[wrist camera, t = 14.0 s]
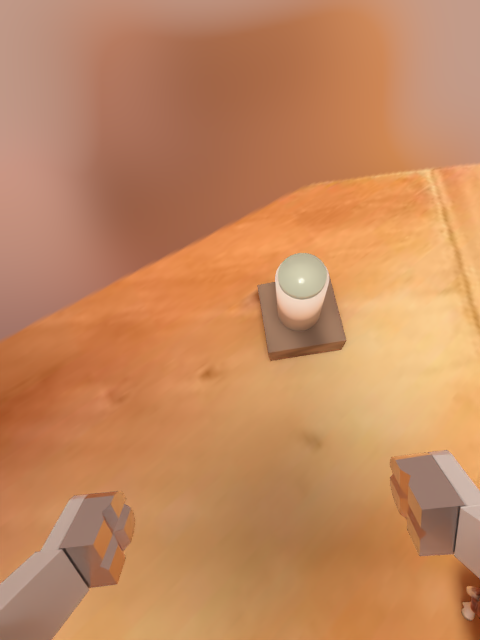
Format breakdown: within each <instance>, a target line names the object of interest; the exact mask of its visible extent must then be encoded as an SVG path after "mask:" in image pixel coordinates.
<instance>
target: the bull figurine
mask: <svg viewBox="0 0 480 640" xmlns="http://www.w3.org/2000/svg"><path fill="white" fill-rule="evenodd" d="M466 591H467V593H468V594H469V595H470V596H471V602H462V604H463V606H464V608H462V615H463V616H464V618H465V619H467V620H469V621H472V620H473V619H474V617H475V614H476V615H478V616H479V618H480V600H479V598H480V587H479V588H476V587H473V586H467V588H466Z"/></svg>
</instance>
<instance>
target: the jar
mask: <svg viewBox="0 0 480 640" xmlns="http://www.w3.org/2000/svg"><path fill="white" fill-rule="evenodd" d="M275 284H276V296H277V309H278V317H279V319H280V321H281V323H282V324H283V325H284V326H285V327H286V328H288V329H290V330H293V331H305V330H308V329H310V328H311V327H313V326H314V325H315V324H316V322H317V321H318V319H319V316H320V312H321V309H322V305H323V302H324V298H325V295H326V291H327V288H328V284H329V273H328V270H327V268H326V266H325V265H324V264H323V262H322V261H321V260H320V259H319V258H317V257H316V256H314V255H311V254H307V253H298V254H294V255H292V256H290V257H288V258H287V259H285V260H284V261H283V262H282V263H281V265H280V266H279V267H278V269H277V271H276V275H275Z"/></svg>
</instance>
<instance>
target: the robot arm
mask: <svg viewBox="0 0 480 640" xmlns="http://www.w3.org/2000/svg"><path fill="white" fill-rule="evenodd" d="M390 467H391V470H392V472H393V475H392V476H391V477H390V486H391V490H392V495H393V498H394V501H395V504H396V506H397V508H398V511H399V513H400V514H401V515H402V516H404V517H405V518H406V519H407V530H408V533H409V535H410V537H411V539H412V541H413V543H414V545H415V547H416V550H417V552H418V554H419V556H429V555H445V554H454V556H455V557H456V558H457V559H458V560H459V561H461V562H462V563H463V564H464V565H465V566H466V567H467V568H468V569H469V570H470V571H472V572H473V573H474V574H475V575H476V576H477V577H478V578H479V579H480V491H479V489H478V488H477V487H476V485H475V484H474V483H473V481H472V480H471V479H470V477H469V476H468V475H467V473H466V472H465V471H464V469H463V468H462V467H461V466H460V464H459V463H458V462H457V460H456V459H455V458H454V456H453V455H452V454H451V453H450V452H449V451H447V450H443V451H435V452H428V453H426V452H424V453H417V454H409V455H402V456H395V457H391V459H390ZM125 500H126V497H125V495H124V493H123V492H122V491H116V492H105V493H95V494H85V495H76V496H73V497H72V498H71V499H70V500H69V501H68V503H67V505H66V506H65V508H64V510H63V512H62V513H61V515H60V517H59V519H58V521H57V522H56V524H55V526H54V528H53V529H52V531H51V533H50V535H49V537H48V538H47V540H46V542H45V544H44V545H43V547H42V549H41V551H40V552H35V553H34V554H33V555H32V556H31V557H29V558H28V559H27V560H26V561H25V562H24V563H23V564H22V565H21V566H20V567H18V568H17V569H16V570H15V571H14V572H13V573H12V574H11V575H10V576H9V577H7V578H6V579H5V580H4V581H3V582H2V583H1V584H0V640H52V639H53V637H54V636H55V635H56V633H57V632H58V631H59V629H60V628H61V627H62V625H63V624H64V623H65V621H66V620H67V619H68V617H69V616H70V615H71V613H72V612H73V611H74V609H75V608H76V607H77V605H78V604H79V603H80V601H81V600H82V599H83V597H84V596H85V595H86V594H87V592H88V591H89V588H91V587H99V586H107V585H115V584H117V583H118V580H119V577H120V574H121V571H122V568H123V565H124V562H125V559H126V558H125V554H124V549H125V548H126V547H127V546H128V545H129V544H130V543H131V540H132V537H133V533H134V526H135V518H134V513H133V511H132V509H131V508H130V507H129V506H127V505H125V504H124V503H125Z"/></svg>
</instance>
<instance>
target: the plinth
mask: <svg viewBox="0 0 480 640" xmlns="http://www.w3.org/2000/svg"><path fill="white" fill-rule="evenodd" d="M328 273H329V272H328ZM258 292H259V298H260V304H261V310H262V316H263V322H264V328H265V335H266V341H267V347H268V353H269V357H270V361H272V360H278V359H284V358H291V357H297V356H303V355H310V354H316V353H322V352H329V351H335V350H341V349H342V347H343V345H344V344H345V342H346V337H345V334H344V330H343V326H342V322H341V318H340V314H339V311H338V307H337V303H336V299H335V295H334V291H333V288H332V284H331V280H330V276H329V284H328V288H327V291H326V295H325V298H324V302H323V305H322V309H321V312H320V316H319V319H318V321H317V322H316V324H315V325H314V326H313V327H311V328H310V329H308V330H305V331H293V330H290V329H288V328H286V327H285V326H284V325H283V324H282V323H281V321H280V319H279V317H278V309H277V296H276V284H275V282H272V283H267V284H261V285H258Z"/></svg>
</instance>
